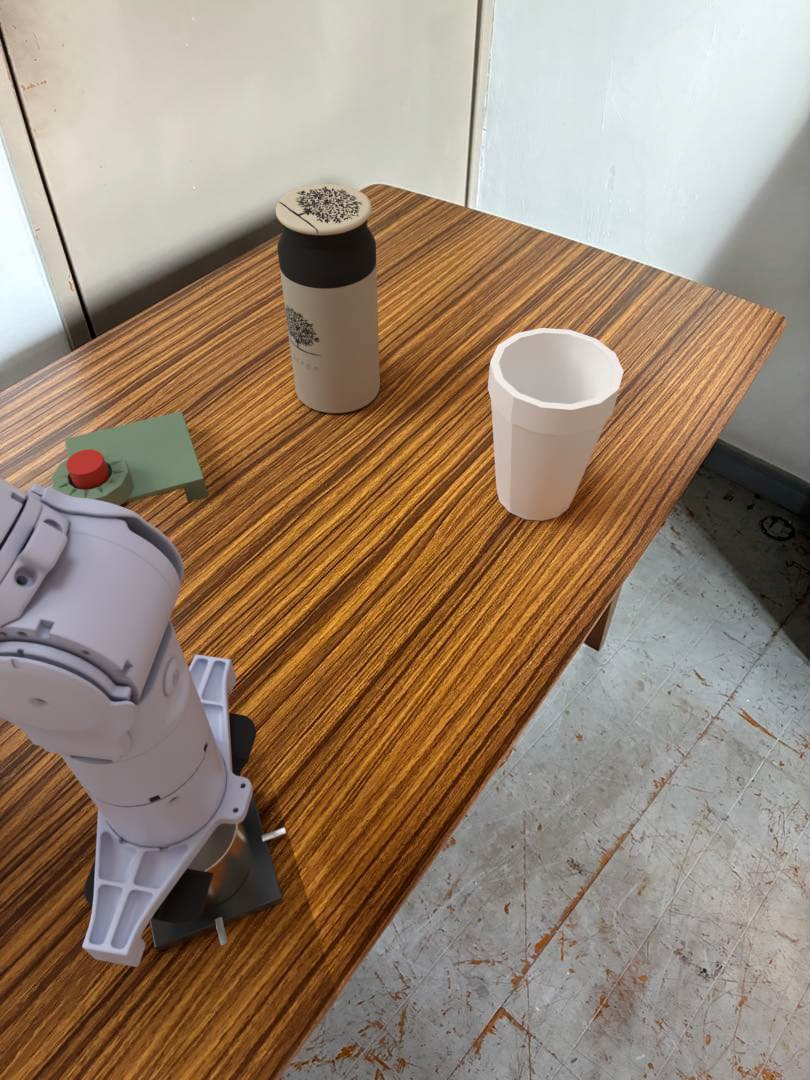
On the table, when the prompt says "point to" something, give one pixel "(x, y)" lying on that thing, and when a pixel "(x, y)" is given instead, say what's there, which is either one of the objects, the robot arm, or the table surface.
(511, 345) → the foam cup
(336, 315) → the travel mug
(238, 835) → the metal dial knob
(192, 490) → the button block
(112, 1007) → the table surface
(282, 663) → the table surface
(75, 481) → the red button
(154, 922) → the metal dial knob base
